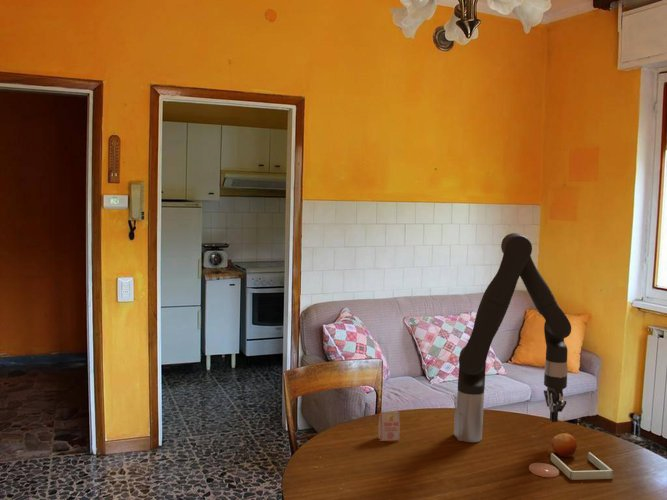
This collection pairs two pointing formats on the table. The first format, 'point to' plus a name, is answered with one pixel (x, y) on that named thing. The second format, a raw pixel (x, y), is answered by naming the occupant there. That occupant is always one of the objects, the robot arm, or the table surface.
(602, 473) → the pale gray u-shaped frame
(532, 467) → the pink shiny oval part
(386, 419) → the tea bag
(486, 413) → the table surface
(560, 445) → the fruit
